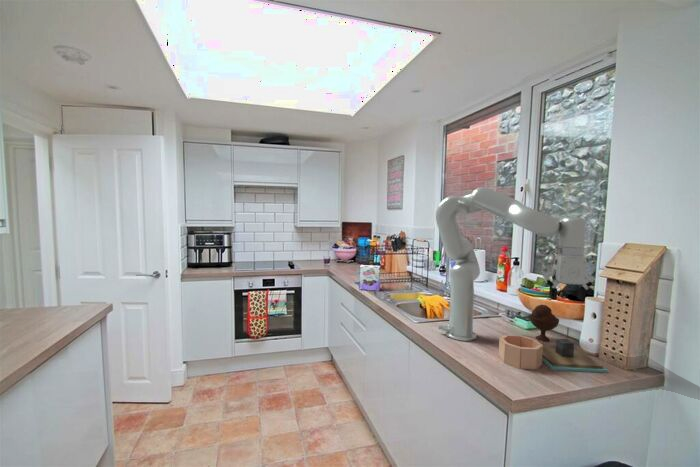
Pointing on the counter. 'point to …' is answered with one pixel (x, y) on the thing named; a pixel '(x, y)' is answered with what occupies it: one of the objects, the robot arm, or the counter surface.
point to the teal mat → (574, 368)
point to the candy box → (369, 277)
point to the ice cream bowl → (543, 321)
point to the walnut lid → (568, 355)
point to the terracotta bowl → (520, 351)
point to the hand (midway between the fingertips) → (567, 299)
